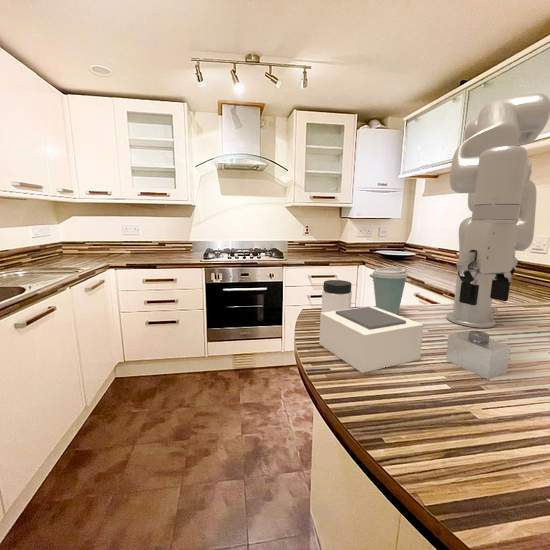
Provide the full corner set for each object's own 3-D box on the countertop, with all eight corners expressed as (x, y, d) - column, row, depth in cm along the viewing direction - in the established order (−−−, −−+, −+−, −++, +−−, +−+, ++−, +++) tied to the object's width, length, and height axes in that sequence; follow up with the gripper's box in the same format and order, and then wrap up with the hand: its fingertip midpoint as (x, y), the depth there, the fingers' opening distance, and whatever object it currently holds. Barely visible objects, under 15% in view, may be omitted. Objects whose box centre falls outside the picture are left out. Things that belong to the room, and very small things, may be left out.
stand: (370, 334, 83) (372, 303, 82) (420, 359, 69) (423, 321, 67) (319, 344, 77) (320, 310, 75) (362, 373, 62) (364, 332, 61)
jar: (326, 315, 100) (327, 278, 98) (352, 319, 96) (354, 281, 94) (318, 323, 92) (319, 283, 89) (346, 327, 88) (348, 286, 86)
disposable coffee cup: (382, 320, 96) (385, 271, 93) (363, 310, 106) (365, 266, 103) (411, 317, 98) (415, 270, 96) (390, 308, 109) (393, 265, 106)
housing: (464, 356, 71) (467, 325, 70) (506, 373, 63) (511, 339, 62) (445, 360, 69) (449, 328, 67) (487, 379, 60) (492, 343, 59)
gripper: (501, 217, 67) (491, 294, 70) (446, 214, 60) (437, 301, 63) (542, 216, 60) (529, 302, 63) (486, 213, 53) (474, 310, 56)
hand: (483, 301), depth 63 cm, fingers open, 9 cm apart
